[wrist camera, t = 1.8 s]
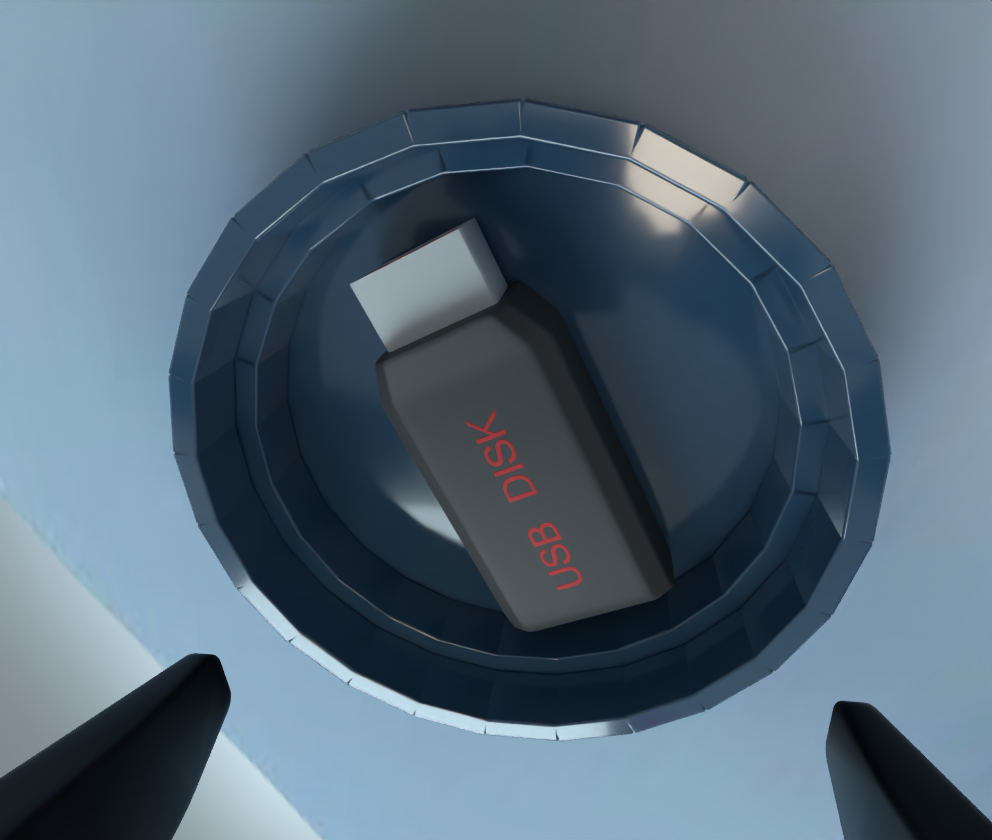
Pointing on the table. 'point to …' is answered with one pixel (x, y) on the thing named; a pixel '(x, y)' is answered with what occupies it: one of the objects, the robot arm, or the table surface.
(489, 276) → the usb drive
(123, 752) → the robot arm
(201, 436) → the bowl
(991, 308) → the table surface
